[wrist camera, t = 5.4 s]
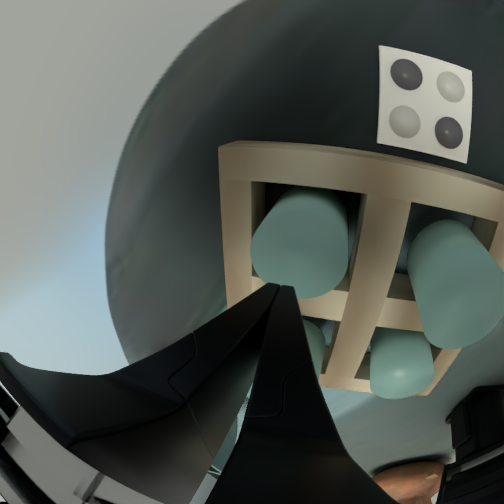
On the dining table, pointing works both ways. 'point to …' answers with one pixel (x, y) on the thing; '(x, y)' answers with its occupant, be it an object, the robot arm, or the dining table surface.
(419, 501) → the ceramic jug
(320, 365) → the button
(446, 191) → the board
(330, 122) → the dining table surface
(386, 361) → the button
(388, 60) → the card
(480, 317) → the button
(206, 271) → the dining table surface
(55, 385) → the robot arm
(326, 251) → the button
